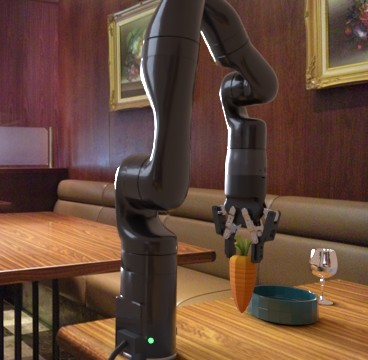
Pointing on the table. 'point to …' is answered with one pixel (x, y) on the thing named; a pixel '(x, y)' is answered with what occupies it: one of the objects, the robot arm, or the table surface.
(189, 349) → the table surface
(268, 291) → the bowl
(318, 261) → the wineglass
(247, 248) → the carrot
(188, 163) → the robot arm
